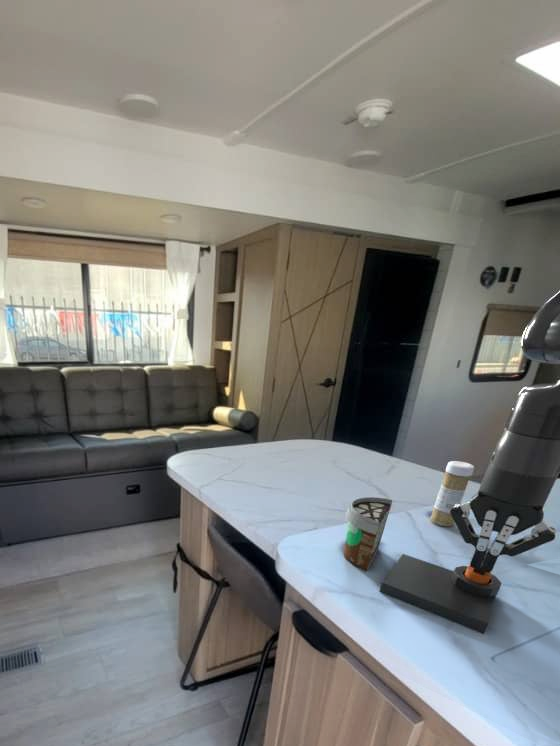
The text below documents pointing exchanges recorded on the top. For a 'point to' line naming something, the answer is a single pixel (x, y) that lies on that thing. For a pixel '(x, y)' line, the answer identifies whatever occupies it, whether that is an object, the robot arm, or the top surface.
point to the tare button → (477, 576)
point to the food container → (365, 529)
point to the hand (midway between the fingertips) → (478, 571)
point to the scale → (442, 591)
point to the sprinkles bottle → (451, 492)
